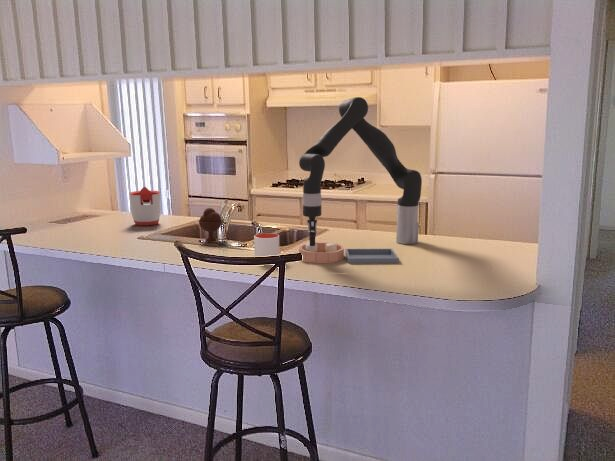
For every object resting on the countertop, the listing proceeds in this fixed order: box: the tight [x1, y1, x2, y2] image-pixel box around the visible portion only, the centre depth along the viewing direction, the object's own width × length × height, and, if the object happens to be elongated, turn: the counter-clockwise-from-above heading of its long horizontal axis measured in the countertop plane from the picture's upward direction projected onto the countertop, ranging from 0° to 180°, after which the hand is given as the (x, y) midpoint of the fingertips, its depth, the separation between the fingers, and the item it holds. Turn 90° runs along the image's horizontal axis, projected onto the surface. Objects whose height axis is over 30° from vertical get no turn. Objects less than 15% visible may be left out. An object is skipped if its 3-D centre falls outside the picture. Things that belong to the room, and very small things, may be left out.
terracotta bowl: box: [298, 241, 345, 264], centre depth 228 cm, size 18×18×4 cm
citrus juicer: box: [129, 186, 161, 227], centre depth 295 cm, size 16×17×20 cm
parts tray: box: [344, 248, 399, 264], centre depth 227 cm, size 20×16×2 cm
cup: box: [253, 232, 280, 257], centre depth 226 cm, size 10×10×10 cm
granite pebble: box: [305, 242, 317, 252], centre depth 228 cm, size 5×5×5 cm
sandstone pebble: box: [325, 242, 338, 252], centre depth 228 cm, size 5×5×5 cm
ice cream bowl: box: [198, 207, 223, 243], centre depth 259 cm, size 11×11×15 cm
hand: (312, 243), depth 228 cm, fingers open, 8 cm apart
